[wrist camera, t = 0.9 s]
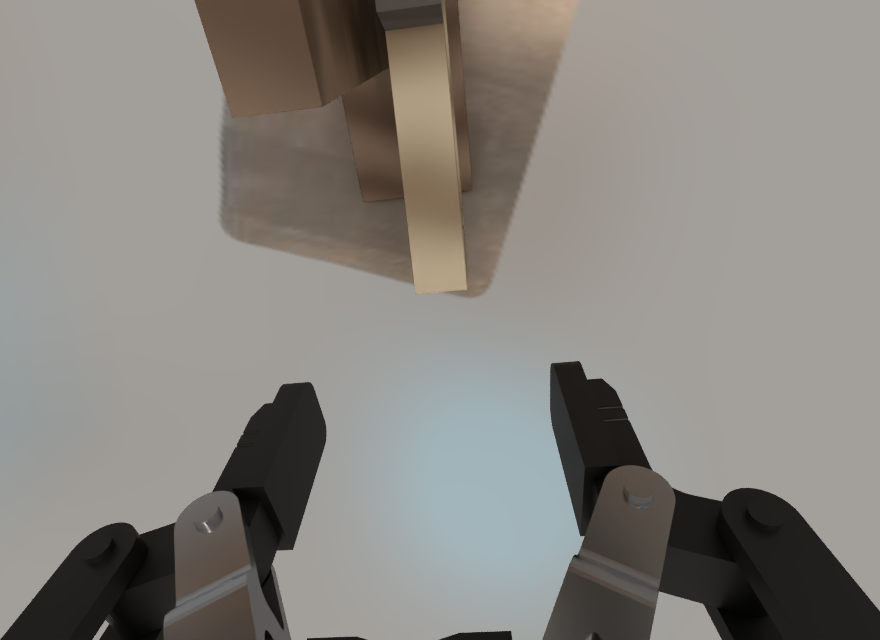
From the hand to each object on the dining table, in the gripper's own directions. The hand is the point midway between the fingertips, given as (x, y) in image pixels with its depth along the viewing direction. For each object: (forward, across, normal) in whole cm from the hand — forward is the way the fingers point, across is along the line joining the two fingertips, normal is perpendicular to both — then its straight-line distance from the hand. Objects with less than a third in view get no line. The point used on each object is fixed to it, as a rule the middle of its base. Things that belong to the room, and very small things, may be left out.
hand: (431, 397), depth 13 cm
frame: (+29, 0, -4) cm, 29 cm away
